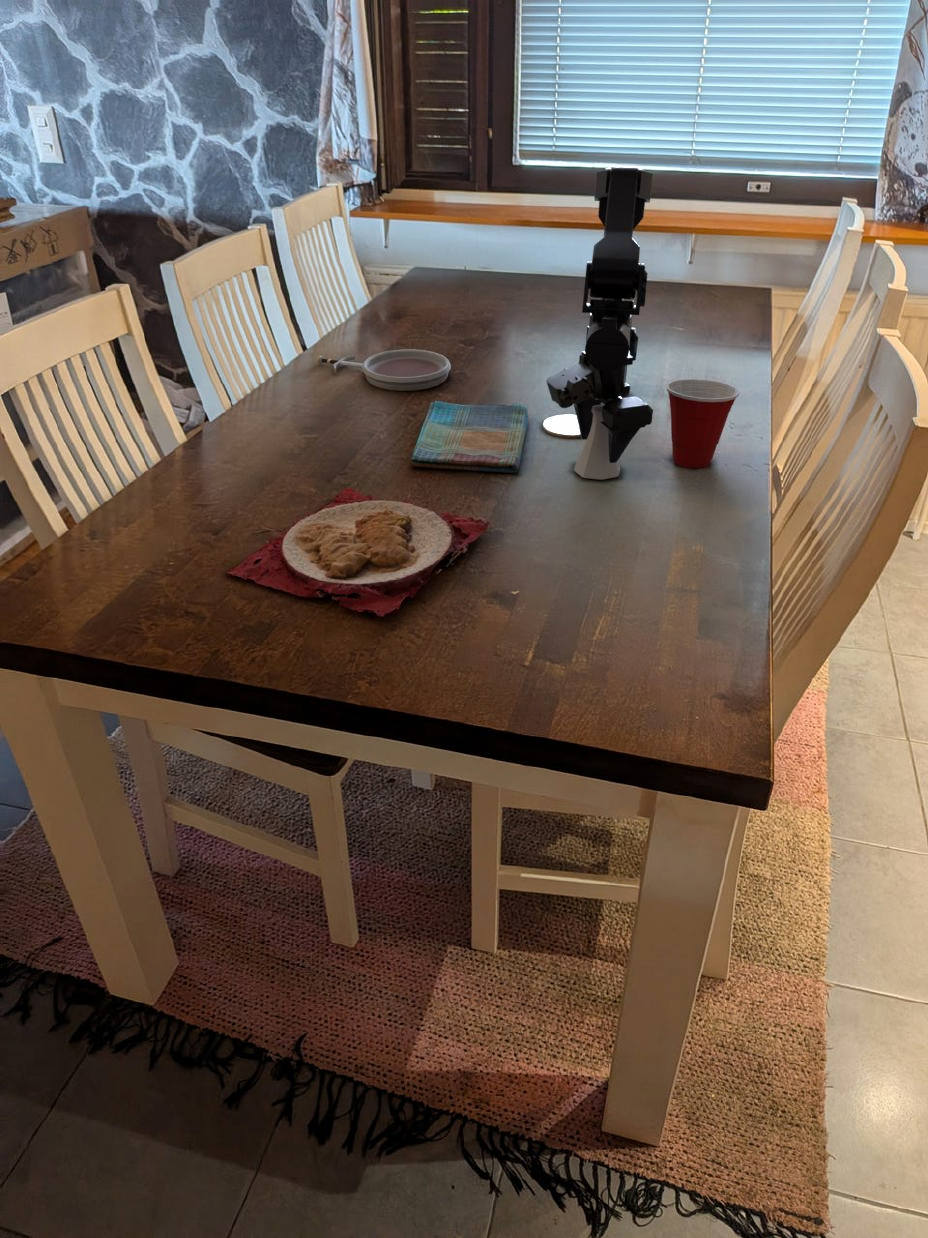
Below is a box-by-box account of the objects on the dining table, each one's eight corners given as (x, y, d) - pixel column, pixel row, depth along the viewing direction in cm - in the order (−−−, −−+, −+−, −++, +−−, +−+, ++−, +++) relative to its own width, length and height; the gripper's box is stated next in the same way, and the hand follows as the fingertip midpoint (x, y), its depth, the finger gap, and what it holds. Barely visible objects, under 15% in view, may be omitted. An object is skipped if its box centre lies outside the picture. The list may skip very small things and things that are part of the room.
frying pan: (336, 339, 185) (464, 352, 176) (337, 353, 186) (464, 367, 178) (293, 365, 172) (429, 381, 163) (295, 380, 173) (430, 397, 165)
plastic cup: (730, 451, 145) (743, 378, 138) (723, 479, 136) (737, 402, 130) (662, 442, 148) (671, 370, 141) (651, 469, 139) (660, 393, 132)
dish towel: (529, 416, 157) (529, 402, 155) (520, 475, 138) (520, 459, 136) (430, 412, 159) (430, 398, 157) (408, 469, 139) (407, 454, 138)
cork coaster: (581, 414, 158) (582, 411, 157) (605, 433, 151) (606, 430, 150) (534, 421, 155) (534, 418, 155) (556, 441, 148) (556, 438, 148)
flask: (569, 461, 142) (573, 400, 136) (615, 460, 142) (621, 398, 136) (578, 482, 136) (582, 418, 130) (625, 480, 136) (632, 416, 130)
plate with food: (490, 534, 123) (491, 511, 121) (385, 624, 104) (383, 599, 102) (347, 497, 133) (345, 475, 131) (226, 573, 114) (222, 549, 112)
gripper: (529, 334, 133) (525, 434, 142) (585, 375, 119) (577, 484, 127) (597, 326, 136) (589, 425, 145) (660, 365, 122) (647, 472, 131)
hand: (598, 450), depth 137 cm, fingers open, 9 cm apart
